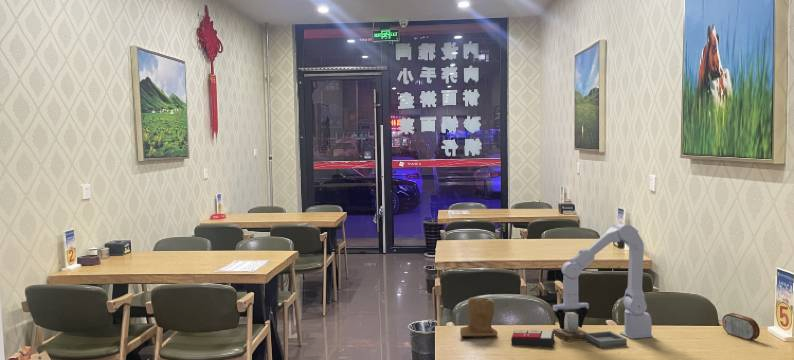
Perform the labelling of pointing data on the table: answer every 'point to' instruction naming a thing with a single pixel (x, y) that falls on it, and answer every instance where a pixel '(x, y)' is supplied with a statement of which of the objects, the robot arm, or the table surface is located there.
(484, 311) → the brown wooden stand
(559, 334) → the brown square frame
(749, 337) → the oval speaker
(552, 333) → the red black box
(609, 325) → the table surface
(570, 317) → the lock pin
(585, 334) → the tray
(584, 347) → the table surface
